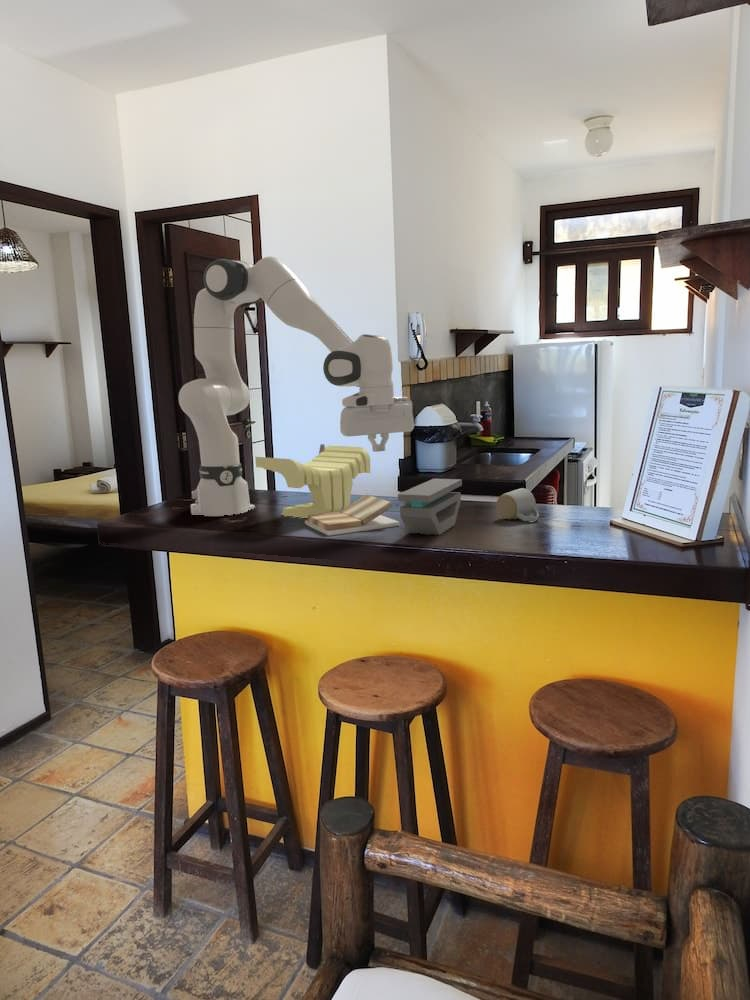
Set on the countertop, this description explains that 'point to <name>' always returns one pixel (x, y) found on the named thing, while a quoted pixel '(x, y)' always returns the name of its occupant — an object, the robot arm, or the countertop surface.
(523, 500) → the ceramic mug
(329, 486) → the yellow ribbed sculpture
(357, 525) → the oak plank
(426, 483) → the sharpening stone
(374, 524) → the underlay board
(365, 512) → the ash plank
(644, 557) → the countertop surface
